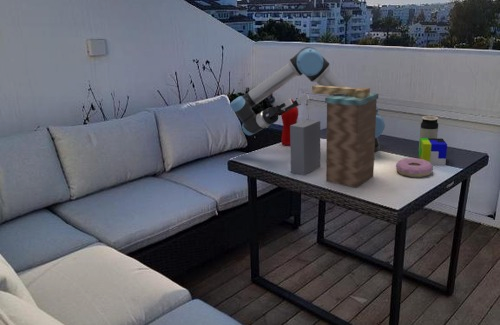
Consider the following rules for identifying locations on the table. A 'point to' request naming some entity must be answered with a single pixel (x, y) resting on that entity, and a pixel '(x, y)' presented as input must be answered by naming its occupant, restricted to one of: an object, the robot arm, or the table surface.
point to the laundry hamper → (350, 138)
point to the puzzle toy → (433, 150)
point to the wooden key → (341, 91)
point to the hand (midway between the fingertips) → (299, 98)
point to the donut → (414, 167)
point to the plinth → (305, 146)
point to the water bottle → (288, 124)
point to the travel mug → (429, 127)
